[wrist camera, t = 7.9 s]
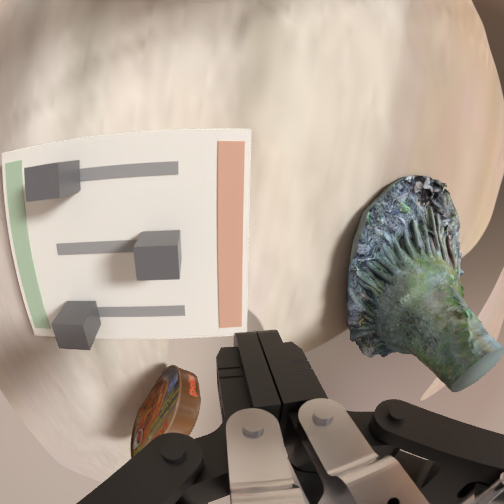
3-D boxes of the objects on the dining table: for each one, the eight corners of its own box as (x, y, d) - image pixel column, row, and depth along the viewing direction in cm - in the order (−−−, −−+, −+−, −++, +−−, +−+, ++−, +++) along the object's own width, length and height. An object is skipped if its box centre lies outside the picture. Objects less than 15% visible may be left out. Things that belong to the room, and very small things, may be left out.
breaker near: (79, 159, 19) (58, 162, 15) (80, 190, 20) (60, 198, 16) (48, 164, 19) (24, 168, 15) (50, 193, 19) (26, 202, 16)
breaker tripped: (180, 229, 23) (177, 245, 19) (181, 259, 23) (179, 279, 20) (142, 231, 22) (133, 247, 18) (145, 260, 23) (136, 280, 19)
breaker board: (246, 131, 24) (251, 128, 21) (242, 320, 29) (246, 335, 27) (15, 152, 19) (1, 153, 17) (43, 323, 25) (34, 335, 23)
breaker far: (95, 300, 23) (82, 324, 19) (101, 324, 24) (89, 350, 20) (67, 300, 22) (51, 323, 19) (73, 323, 23) (59, 348, 19)
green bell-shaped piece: (473, 208, 32) (566, 291, 16) (397, 320, 41) (453, 417, 26) (385, 142, 26) (539, 241, 10) (295, 301, 35) (347, 445, 20)
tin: (177, 349, 29) (176, 408, 21) (203, 360, 30) (209, 418, 22) (130, 422, 32) (125, 472, 24) (152, 429, 33) (150, 480, 25)
